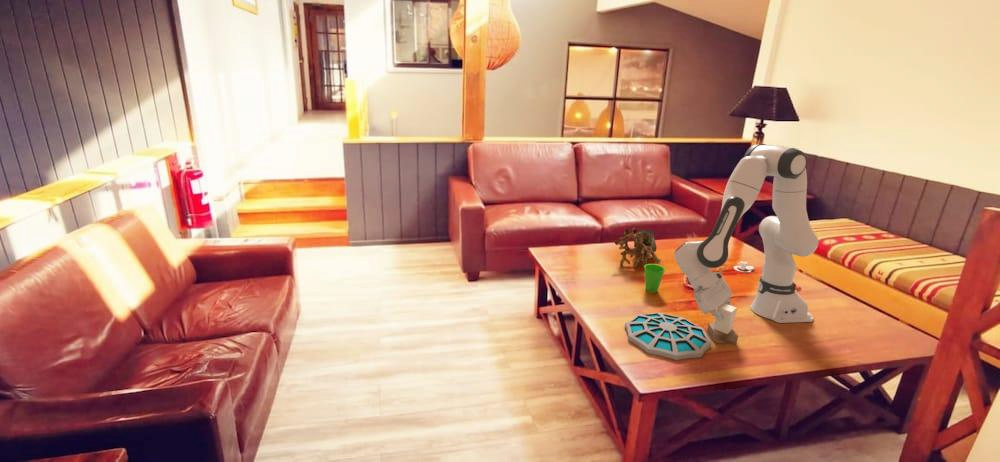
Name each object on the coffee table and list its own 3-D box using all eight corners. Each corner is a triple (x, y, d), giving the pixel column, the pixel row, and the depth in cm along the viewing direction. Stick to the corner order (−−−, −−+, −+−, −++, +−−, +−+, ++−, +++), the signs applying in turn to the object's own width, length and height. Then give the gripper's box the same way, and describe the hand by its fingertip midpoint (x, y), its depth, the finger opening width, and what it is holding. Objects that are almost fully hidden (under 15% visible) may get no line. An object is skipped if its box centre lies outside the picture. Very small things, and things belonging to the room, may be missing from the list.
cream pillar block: (718, 324, 182) (723, 302, 179) (732, 329, 179) (736, 307, 176) (713, 328, 179) (717, 307, 176) (727, 334, 175) (731, 312, 172)
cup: (663, 295, 212) (666, 272, 208) (641, 293, 213) (644, 270, 210) (660, 287, 220) (664, 264, 216) (640, 284, 222) (643, 262, 218)
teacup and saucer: (753, 269, 243) (755, 262, 241) (751, 274, 236) (753, 267, 235) (734, 265, 247) (736, 258, 246) (732, 270, 241) (733, 263, 239)
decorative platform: (621, 314, 196) (622, 303, 194) (695, 320, 193) (697, 308, 191) (632, 357, 167) (633, 345, 165) (720, 365, 164) (722, 352, 162)
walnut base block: (728, 332, 183) (730, 324, 182) (736, 344, 176) (738, 335, 175) (706, 331, 184) (708, 323, 183) (713, 342, 176) (715, 334, 175)
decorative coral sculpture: (667, 240, 257) (674, 249, 229) (641, 272, 262) (646, 285, 234) (629, 214, 259) (632, 220, 232) (604, 246, 264) (604, 256, 237)
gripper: (699, 287, 171) (722, 322, 167) (722, 271, 184) (744, 303, 181) (685, 294, 175) (707, 328, 172) (709, 278, 189) (730, 310, 186)
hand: (726, 315), depth 177 cm, fingers open, 8 cm apart
